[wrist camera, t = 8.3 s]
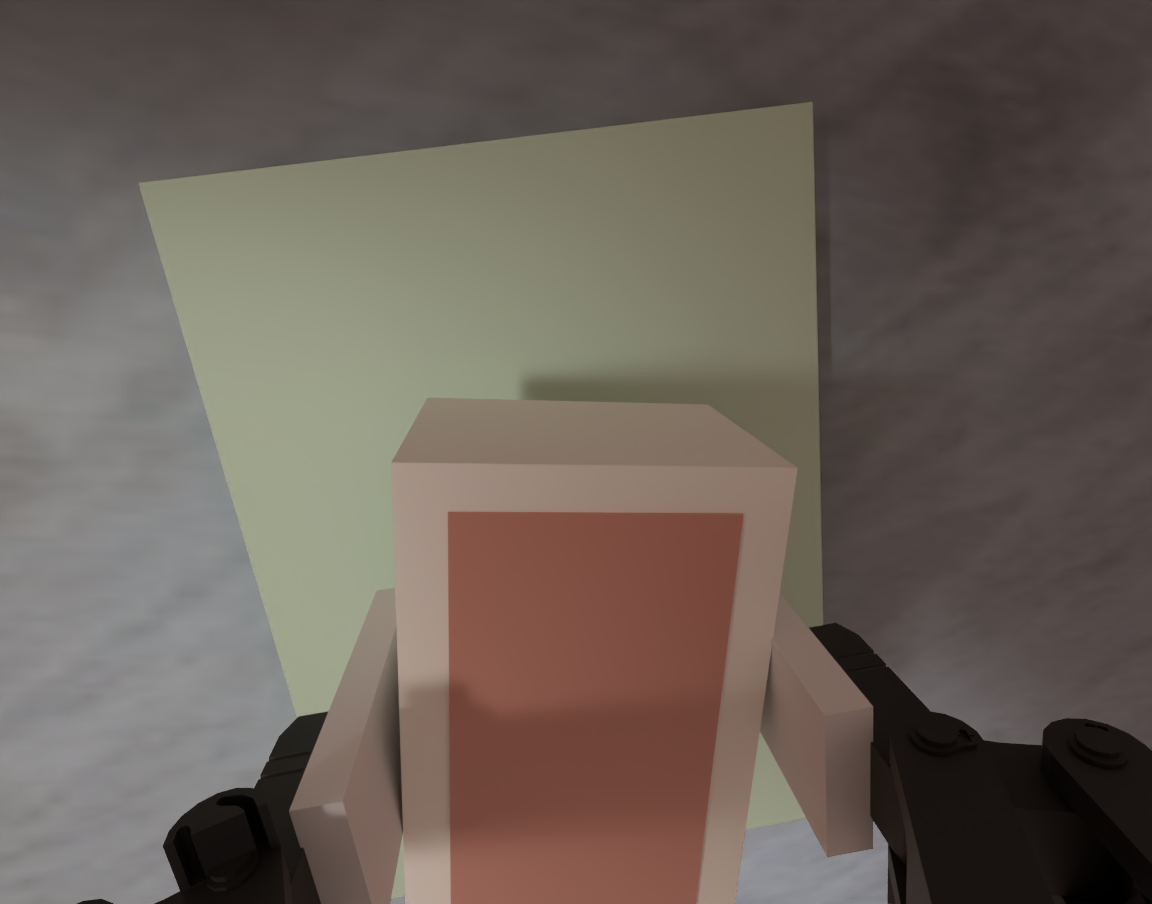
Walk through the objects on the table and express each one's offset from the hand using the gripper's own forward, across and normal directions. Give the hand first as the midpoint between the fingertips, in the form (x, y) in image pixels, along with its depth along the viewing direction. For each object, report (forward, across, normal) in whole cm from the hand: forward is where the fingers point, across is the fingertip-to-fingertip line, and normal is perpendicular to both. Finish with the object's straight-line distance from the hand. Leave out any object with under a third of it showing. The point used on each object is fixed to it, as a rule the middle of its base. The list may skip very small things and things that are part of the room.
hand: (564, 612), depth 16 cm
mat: (+3, 0, 0) cm, 3 cm away
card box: (+1, 0, 0) cm, 1 cm away
